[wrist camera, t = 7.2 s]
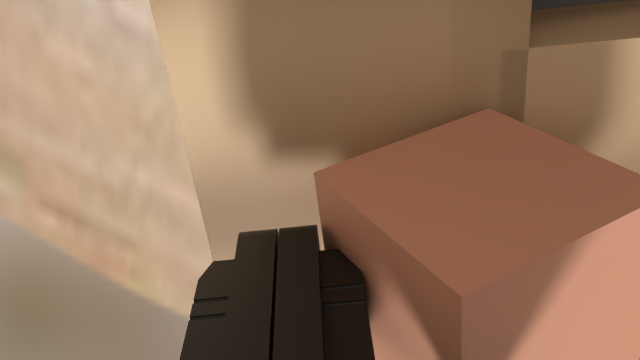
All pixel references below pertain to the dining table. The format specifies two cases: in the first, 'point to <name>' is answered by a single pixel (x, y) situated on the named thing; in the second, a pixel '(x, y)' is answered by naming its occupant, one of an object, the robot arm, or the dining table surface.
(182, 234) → the dining table surface
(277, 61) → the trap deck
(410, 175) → the block
